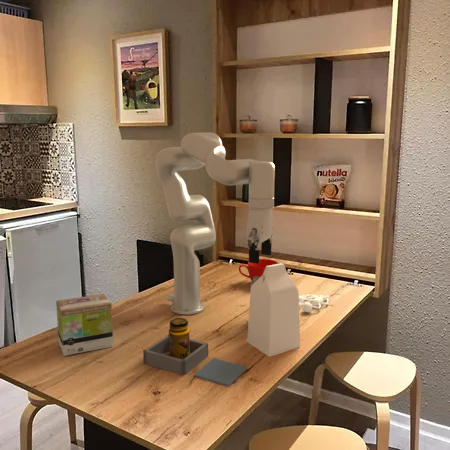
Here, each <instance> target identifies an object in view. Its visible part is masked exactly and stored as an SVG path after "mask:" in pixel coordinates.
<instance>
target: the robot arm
mask: <svg viewBox="0 0 450 450" xmlns="http://www.w3.org/2000/svg"><path fill="white" fill-rule="evenodd" d="M226 153H227V152H226V149H225V147H224V145H223V142H222V139H221V138H220V136H219V135H218V134H216V133H214V132H211V131H210V132H208V131H207V132H190V133H187V134H186V135H184V136H183V137H182V139H181V141H180V146H171V147H166V148H163V149H161V150H160V151H158V153H157V154H156V158H155V161H154V162H155V171H156V175H157V177H158V180H159V182H160V183H161V186H162V190H163V194H164V195H163V196H164V199H165V204H166V208H167V213H168V215H169V218H170V220H171V221H172V222H174V223H177V224H179V223H187V222H193V221H194V224H187V225H181V226H179V227H176V228H175V229H173V230H172V232H171V233H170V235H169V237H170V238H169V239H170V245H171V246H170V247H171V250H172V251H171V252H172V256H173V257H172V258H173V260H172V261H173V285H174V286H173V289H174V293H173V294H172V293H168V295H167V297H166V301H168V302H171V303H172V304H170V311H171V312H173V313H175V314H178V315H184V316H186V315H189V316H190V315H195V314H199V313H201V312H203V311H204V309H205V304H204V303H203V301H201V276H200V275H201V270H200V269H201V268H200V267H201V266H200V265H201V264H200V263H201V262H200V260H199V257H198V256H197V255H196V253H195V251H199V250H204V249H207V248H210V247H212V246H213V245H215V243H216V239H217V233H216V228H215V224H214V219H213V214H212V210H211V207H210V203H209V201H208V200H207V198H206V197H205V196H203V195H201V194H191V195H190V194H189V191H188V187H187V184H186V182H185V180H184V179H183V177H182V176H181V175H180V174H179V173H178V171H192V170H193V171H194V170H199V169H201V168H203V167H205V170H206V173H207V174H208V176H209V177H210V178H211V179H213V180H214V181H216V182H218V183H220V184H222V185H225V186H237V185H238V186H239V185H248V216H247V223H246V241H247V247H248V262H250V263H257V264H258V263H259V259H260V254H261V255H262V256H271V255H272V247H273V246H272V242H273V239H272V237H273V229H274V227H273V226H274V225H273V223H274V220H273V210H274V209H275V177H276V172H275V171H276V169H275V167H276V166H275V164H274V163H273V162H271V161H264V160H263V161H262V160H261V161H260V160H257V159H253V158H245V159H232V160H231V159H229V160H228V159H226ZM260 245H261V248H260ZM259 248H260V249H259ZM260 250H261V251H260Z"/></svg>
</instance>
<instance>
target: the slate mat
mask: <svg viewBox="0 0 450 450" xmlns="http://www.w3.org/2000/svg"><path fill="white" fill-rule="evenodd" d="M247 369H248V366H245V365H242V364H239V363H235V362H231V361H227V360H223V359H220V358H215V357H213V358H212V359H210V360H209V361H208V362H207V363H206V364H204V366H202V367H201V368H200V369H198V371H196V372H195V373H193V377H196V378H199V379H202V380H206V381H210V382H213V383H216V384H219V385H223V386H225V387H230V386H231V385H232V384H233V383H234V382H235V381H236V380H237V379H238V378H239V377H240V376H241V375H242V374H243V373H244V372H246V370H247Z"/></svg>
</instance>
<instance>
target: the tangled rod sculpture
mask: <svg viewBox="0 0 450 450" xmlns="http://www.w3.org/2000/svg"><path fill="white" fill-rule="evenodd" d="M330 300H332V298H331V297H330V296H329V295H323V294H319V295H315V294H310V293H306V294H302V295H299V308H300V307H301V310H302V311H303V312H305V313H310V312H311V311H312V310H313V309H317V310H320V309H321V308H322V305H324V306H327V305H329V304H330V302H329V301H330ZM324 301H326V302H324ZM310 302H311V303H312V304H311V303H310Z"/></svg>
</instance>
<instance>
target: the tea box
mask: <svg viewBox="0 0 450 450" xmlns="http://www.w3.org/2000/svg"><path fill="white" fill-rule="evenodd" d="M55 305H56V324H57V340H58V341H57V342H58V345H59V348H60V350H61V352H62V354H63V357H67V356H71V355H75V354H80V353H85V352H86V353H87V352H91V351H96V350H101V349H107V348H108V349H109V348H112V347H113V346H114V345H113V344H114V342H113V341H114V340H113V339H114V337H113V336H114V335H113V334H114V333H113V331H114V330H113V310H112V309H113V305H112V303H111V301H110V300H109V298H108V297H107V295H106V294H105V293H100V294H93V295H87V296H80V297H73V298H67V299H59V300H56V304H55Z"/></svg>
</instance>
